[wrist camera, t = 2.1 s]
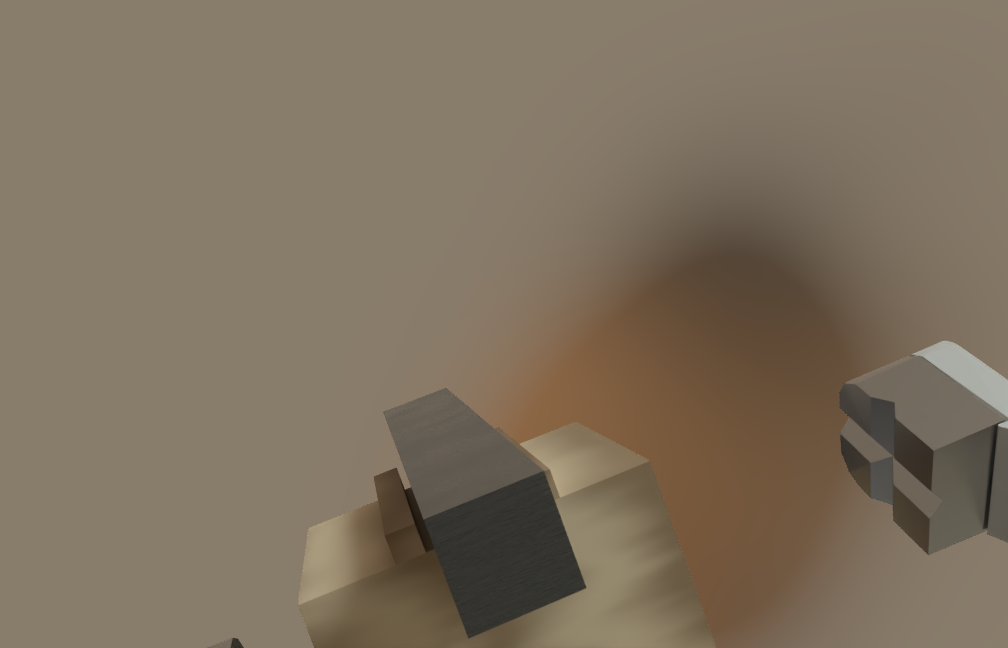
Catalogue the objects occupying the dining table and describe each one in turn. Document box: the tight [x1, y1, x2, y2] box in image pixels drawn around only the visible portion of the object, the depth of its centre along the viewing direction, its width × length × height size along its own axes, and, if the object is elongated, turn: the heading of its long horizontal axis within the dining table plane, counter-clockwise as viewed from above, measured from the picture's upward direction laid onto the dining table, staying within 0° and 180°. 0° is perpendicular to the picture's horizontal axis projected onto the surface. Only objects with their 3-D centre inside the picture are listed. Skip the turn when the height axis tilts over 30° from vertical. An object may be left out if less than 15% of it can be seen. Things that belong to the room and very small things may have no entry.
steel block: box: [383, 388, 586, 639], centre depth 32 cm, size 3×21×3 cm, turn 11°
